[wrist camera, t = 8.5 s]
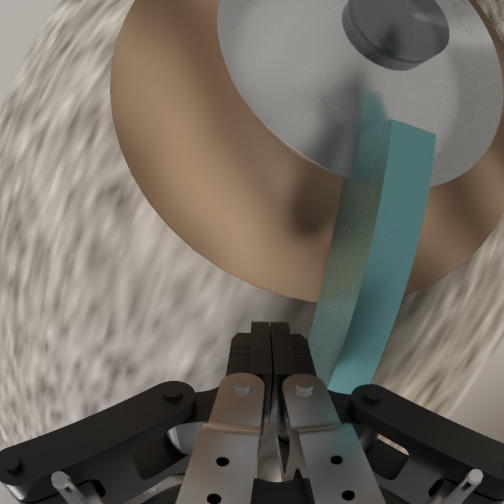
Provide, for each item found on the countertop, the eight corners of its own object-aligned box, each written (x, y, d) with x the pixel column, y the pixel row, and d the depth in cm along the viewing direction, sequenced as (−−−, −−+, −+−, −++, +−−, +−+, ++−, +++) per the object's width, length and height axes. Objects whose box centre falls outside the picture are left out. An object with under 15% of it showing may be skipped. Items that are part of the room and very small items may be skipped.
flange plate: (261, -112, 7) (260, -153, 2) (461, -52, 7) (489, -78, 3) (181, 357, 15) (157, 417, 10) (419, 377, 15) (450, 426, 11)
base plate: (329, -101, 9) (343, -151, 2) (546, 138, 14) (605, 141, 7) (54, 85, 15) (-19, 66, 8) (323, 368, 20) (343, 447, 13)
